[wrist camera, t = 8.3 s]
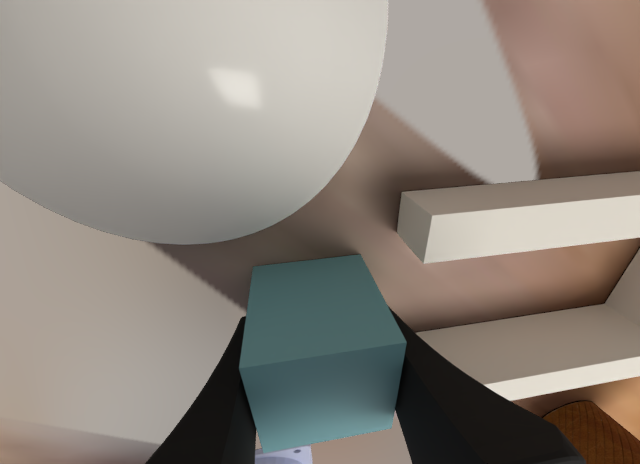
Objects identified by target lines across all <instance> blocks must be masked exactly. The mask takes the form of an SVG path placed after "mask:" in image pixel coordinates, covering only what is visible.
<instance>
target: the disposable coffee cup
mask: <svg viewBox="0 0 640 464" xmlns="http://www.w3.org/2000/svg"><path fill="white" fill-rule="evenodd" d="M543 419H545V420H546V421H548V422H550V423H552V424H554V425H556V426H557V427H558V428H559V430H560V431H561V432H562V433H563V434H564V435H565V436H566V437H567V438H568V440H569V441H570V442H571V443H572V444H573V446H574V447H575V448H576V449H577V450H578V452H579V453H580V454H581V455H582V456H583V458H584V459H585V460H586V464H640V441H639V440H638V439H637V438H635V437H634V436H633V435H632V434H631V433H630V432H628V431H627V430H626V429H625V428H623V427H622V426H621V425H620V424H619V423H617V422H616V421H615V420H614V419H612V418H611V417H610V416H609V415H608V414H606V413H605V412H604V411H603V410H601V409H600V408H599V407H598V406H597V405H596V404H594V403H593V402H589V401H581V402H575V403H571V404H568V405H565V406H562V407H560V408H558V409H556V410H554V411H552V412H551V413H549V414H547V415H546V416H545V417H543Z"/></svg>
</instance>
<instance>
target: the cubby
mask: <svg viewBox="0 0 640 464" xmlns="http://www.w3.org/2000/svg"><path fill="white" fill-rule="evenodd" d="M397 234H398V235H399V236H400V237H401V239H402V240H403V241H404V242H405V243H406V244H407V245H408V247H409V248H410V249H411V250H412V251H413V252H414V253H415V255H416V256H417V257H418V258H419V259H420V260H421V261H422V263H423V264H426V263H434V262H442V261H450V260H459V259H467V258H475V257H483V256H491V255H500V254H508V253H516V252H524V251H533V250H541V249H549V248H557V247H566V246H574V245H582V244H590V243H598V242H607V241H615V240H623V239H631V238H640V171H635V172H623V173H612V174H600V175H589V176H578V177H566V178H555V179H543V180H532V181H521V182H511V183H510V182H509V183H498V184H486V185H475V186H464V187H452V188H441V189H429V190H418V191H407V192H402V193H401V201H400V210H399V219H398V227H397ZM416 334H417V335H418V336H419V337H420V338H421V339H423V340H424V341H425V342H426V343H427V344H428V345H429V346H431V347H432V348H433V349H434V350H435V351H437V352H438V353H439V354H440V355H442V356H443V357H444V358H445V359H447V360H448V361H449V362H451V363H452V364H453V365H455V366H456V367H457V368H459V369H460V370H462V371H463V372H465V373H466V374H467V375H469V376H471V377H472V378H474V379H475V380H477V381H478V382H480V383H481V384H483V385H484V386H486V387H487V388H489V389H491V390H492V391H494V392H495V393H497V394H499V395H501V396H502V397H504V398H506V399H507V400H509V401H512V400H517V399H523V398H528V397H533V396H538V395H543V394H549V393H554V392H559V391H564V390H569V389H575V388H580V387H585V386H590V385H595V384H601V383H606V382H611V381H616V380H621V379H627V378H632V377H637V376H640V249H639V250H638V252H637V254H636V255H635V257H634V258H633V260H632V261H631V263H630V265H629V266H628V268H627V269H626V271H625V272H624V274H623V275H622V277H621V279H620V280H619V282H618V283H617V285H616V286H615V288H614V290H613V291H612V293H611V294H610V296H609V297H608V299H607V301H606V302H605V304H600V305H594V306H587V307H580V308H574V309H567V310H561V311H554V312H548V313H541V314H535V315H528V316H521V317H515V318H508V319H502V320H495V321H489V322H482V323H476V324H469V325H463V326H456V327H449V328H443V329H436V330H430V331H423V332H417V333H416Z"/></svg>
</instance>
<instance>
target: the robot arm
mask: <svg viewBox="0 0 640 464" xmlns="http://www.w3.org/2000/svg"><path fill="white" fill-rule="evenodd" d="M387 306H388V305H387ZM388 308H389V307H388ZM389 309H390V308H389ZM390 311H391V313H392V315H393V317H394V319H395V321H396V323H397V325H398V327H399V328H400V330H401V332H402V334H403V336H404V338H405V340H406V342H407V344H406V350H405V355H404V361H403V367H402V372H401V378H400V383H399V389H398V395H397V400H396V406H395V410H396V413H397V416H398V419H399V422H400V425H401V428H402V431H403V435H404V437H405V441H406V444H407V447H408V451H409V454H410V457H411V460H412V464H586V460H585V459H584V458H583V456H582V455H581V454H580V453H579V452H578V450H577V449H576V448H575V447H574V446H573V444H572V443H571V442H570V441H569V440H568V438H567V437H566V436H565V435H564V434H563V433H562V432H561V431H560V430H559V428H558V427H557V426H556V425H554V424H552V423H550V422H548V421H546V420H545V419H543V418H541V417H539V416H537V415H535V414H533V413H531V412H529V411H527V410H525V409H523V408H522V407H520V406H518V405H516V404H514V403H513V402H511V401H509V400H507V399H506V398H504V397H502V396H501V395H499V394H497V393H495V392H494V391H492V390H491V389H489V388H487V387H486V386H484V385H483V384H481V383H480V382H478V381H477V380H475V379H474V378H472V377H471V376H469V375H467V374H466V373H465V372H463V371H462V370H460V369H459V368H457V367H456V366H455V365H453V364H452V363H451V362H449V361H448V360H447V359H445V358H444V357H443V356H442V355H440V354H439V353H438V352H437V351H435V350H434V349H433V348H432V347H431V346H429V345H428V344H427V343H426V342H425V341H424V340H423V339H421V338H420V337H419V336H418V335H417V334H416V333H415V332H414V331H413V330H412V329H411V328H409V327H408V326H407V325H406V324H405V323H404V322H403V321H402V320H401V319H400V318H399V317H398V316H397V315H396V314H395V313H394V312H393V311H392V310H391V309H390ZM245 321H246V316H244V317H242V318H241V319H240V321H239V324H238V326H237V328H236V330H235V333H234V335H233V337H232V339H231V341H230V343H229V345H228V347H227V348H226V350H225V352H224V354H223V356H222V358H221V360H220V361H219V363H218V365H217V366H216V368H215V370H214V371H213V373H212V375H211V376H210V378H209V380H208V381H207V383H206V385H205V386H204V388H203V389H202V391H201V392H200V394H199V395H198V397H197V398H196V400H195V401H194V403H193V404H192V405H191V407H190V408H189V410H188V411H187V412H186V414H185V415H184V417H183V418H182V419H181V420H180V422H179V423H178V424H177V426H176V427H175V428H174V430H173V431H172V432H171V433H170V435H169V436H168V437H167V438H166V440H165V441H164V442H163V443H162V444H161V446H160V447H159V448H158V449H157V450H156V452H155V453H154V454H153V455H152V456H151V457H150V459H149V460H148V461H147V462H146V463H145V464H313V463H312V454H311V445H310V444H308V445H303V446H298V447H293V448H288V449H282V450H277V451H272V452H267V453H263V450H262V448H261V449H257V450H255V441H256V426H255V422H254V419H253V415H252V412H251V408H250V405H249V401H248V398H247V395H246V391H245V388H244V384H243V381H242V377H241V374H240V370H239V364H240V357H241V350H242V343H243V336H244V329H245Z"/></svg>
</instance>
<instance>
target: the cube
mask: <svg viewBox="0 0 640 464" xmlns="http://www.w3.org/2000/svg"><path fill="white" fill-rule="evenodd" d="M406 344H407V342H406V340H405V338H404V336H403V334H402V332H401V330H400V328H399V327H398V325H397V323H396V321H395V319H394V317H393V315H392V313H391V311H390V309H389V308H388V306H387V304H386V302H385V300H384V298H383V296H382V294H381V292H380V291H379V289H378V287H377V285H376V283H375V281H374V279H373V277H372V275H371V273H370V272H369V270H368V268H367V266H366V264H365V262H364V260H363V258H362V256H361V254H359V255H350V256H341V257H333V258H324V259H315V260H306V261H297V262H289V263H280V264H271V265H262V266H253V271H252V278H251V285H250V293H249V300H248V307H247V314H246V321H245V329H244V336H243V343H242V350H241V357H240V364H239V370H240V374H241V377H242V381H243V384H244V388H245V391H246V395H247V398H248V401H249V405H250V408H251V412H252V415H253V419H254V422H255V426H256V429H257V432H258V436H259V439H260V443H261V446H262V450H263V453H267V452H272V451H277V450H282V449H288V448H293V447H298V446H303V445H308V444H313V443H318V442H323V441H329V440H334V439H339V438H344V437H349V436H355V435H359V434H364V433H370V432H375V431H380V430H386V429H391V428H392V422H393V417H394V412H395V406H396V400H397V395H398V389H399V383H400V378H401V372H402V367H403V361H404V355H405V350H406Z"/></svg>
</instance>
